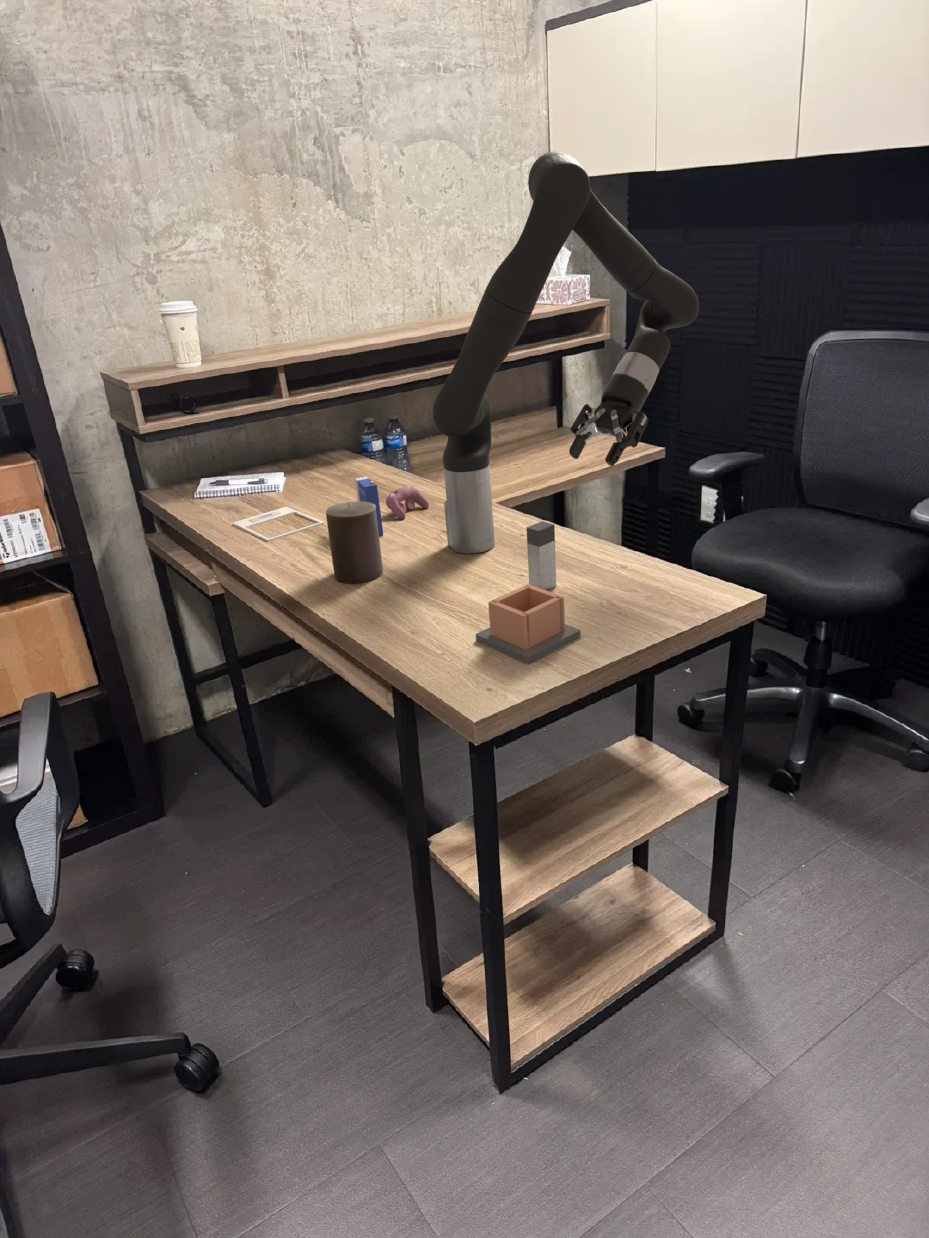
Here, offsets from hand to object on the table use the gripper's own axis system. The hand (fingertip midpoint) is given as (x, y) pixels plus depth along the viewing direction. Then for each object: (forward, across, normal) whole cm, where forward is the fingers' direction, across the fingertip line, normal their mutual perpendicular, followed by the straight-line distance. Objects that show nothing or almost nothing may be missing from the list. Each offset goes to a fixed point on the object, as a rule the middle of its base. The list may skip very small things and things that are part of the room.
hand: (590, 460), depth 152 cm
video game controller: (+16, -55, +13) cm, 59 cm away
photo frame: (+33, -74, -4) cm, 81 cm away
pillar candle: (+37, -33, -8) cm, 50 cm away
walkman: (+26, -51, +4) cm, 57 cm away
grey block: (+24, 0, +5) cm, 25 cm away
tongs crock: (+36, +12, -6) cm, 38 cm away
